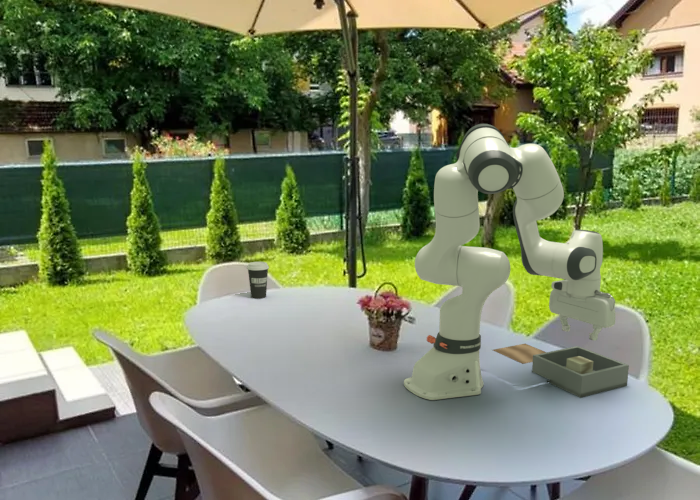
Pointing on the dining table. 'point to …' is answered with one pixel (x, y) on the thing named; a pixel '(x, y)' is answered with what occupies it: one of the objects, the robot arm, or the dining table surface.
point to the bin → (581, 385)
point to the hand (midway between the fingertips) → (579, 335)
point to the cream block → (580, 364)
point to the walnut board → (520, 352)
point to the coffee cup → (258, 279)
